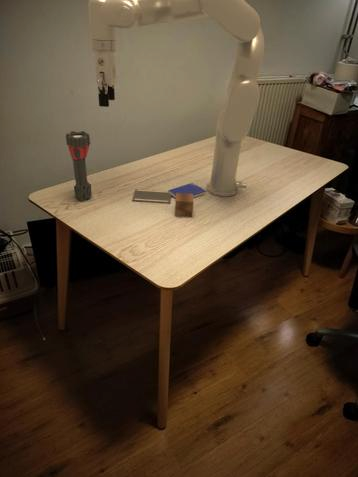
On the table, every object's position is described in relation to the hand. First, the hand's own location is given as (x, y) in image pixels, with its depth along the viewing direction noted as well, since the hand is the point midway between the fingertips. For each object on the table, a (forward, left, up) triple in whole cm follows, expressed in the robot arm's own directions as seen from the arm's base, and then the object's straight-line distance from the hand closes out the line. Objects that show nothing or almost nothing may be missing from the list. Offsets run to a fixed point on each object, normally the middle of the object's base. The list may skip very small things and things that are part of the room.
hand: (107, 103), depth 114 cm
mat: (-17, +9, -31) cm, 36 cm away
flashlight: (+8, +12, -31) cm, 34 cm away
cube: (-29, +19, -31) cm, 46 cm away
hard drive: (-30, +5, -31) cm, 43 cm away
